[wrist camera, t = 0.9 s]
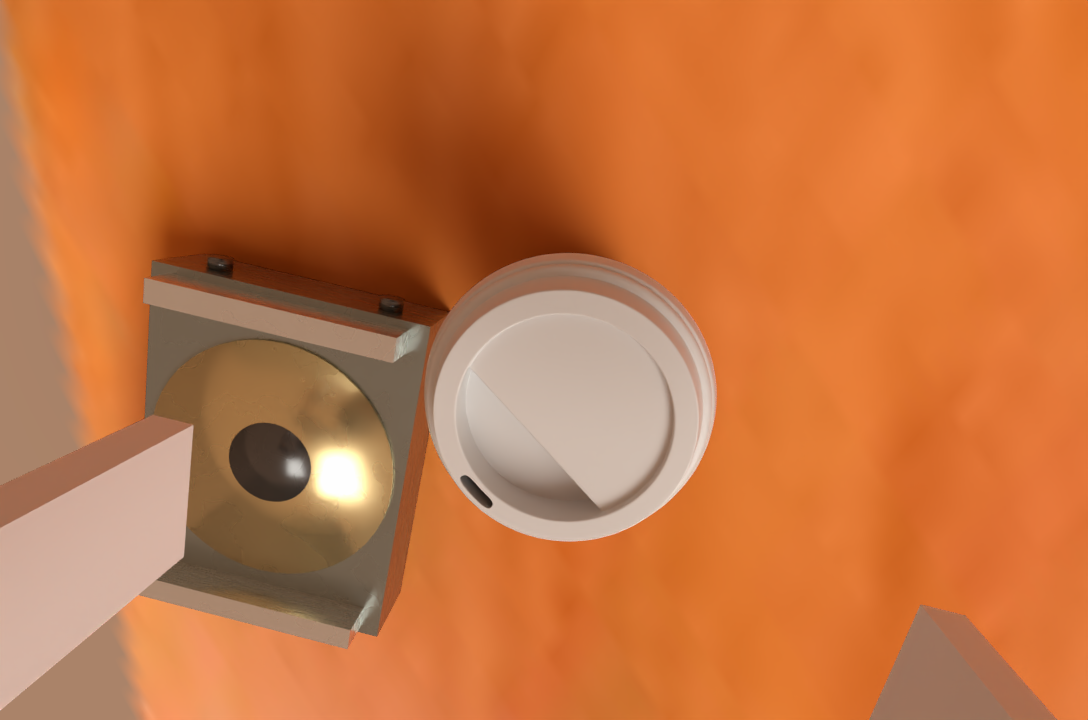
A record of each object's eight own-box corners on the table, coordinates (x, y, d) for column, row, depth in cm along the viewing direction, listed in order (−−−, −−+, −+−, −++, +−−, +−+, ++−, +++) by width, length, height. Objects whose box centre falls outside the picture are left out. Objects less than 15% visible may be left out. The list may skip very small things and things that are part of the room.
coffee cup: (467, 267, 32) (355, 321, 18) (641, 206, 31) (674, 209, 16) (527, 430, 34) (471, 596, 20) (694, 380, 33) (766, 521, 18)
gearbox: (204, 243, 33) (124, 251, 28) (452, 301, 33) (421, 322, 27) (184, 537, 38) (112, 594, 33) (400, 592, 38) (364, 660, 32)
